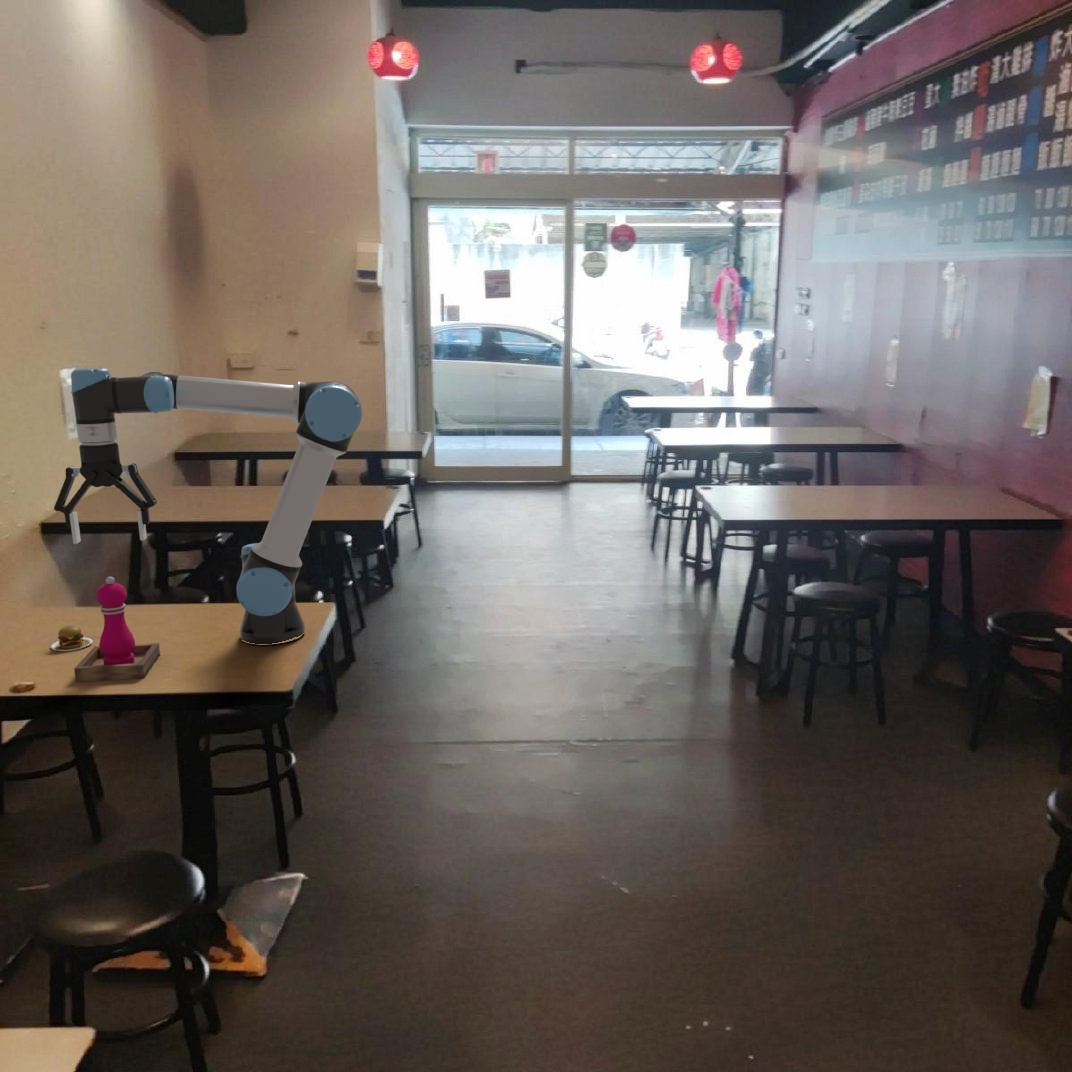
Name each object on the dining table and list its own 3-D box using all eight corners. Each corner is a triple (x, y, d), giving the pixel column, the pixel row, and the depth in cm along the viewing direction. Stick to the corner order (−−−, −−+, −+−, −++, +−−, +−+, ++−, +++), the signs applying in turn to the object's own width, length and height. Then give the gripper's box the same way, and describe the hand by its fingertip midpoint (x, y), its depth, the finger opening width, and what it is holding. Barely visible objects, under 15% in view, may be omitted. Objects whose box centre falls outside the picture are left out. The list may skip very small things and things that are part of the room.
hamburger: (104, 637, 233) (101, 616, 232) (94, 654, 222) (92, 631, 221) (50, 642, 230) (47, 620, 229) (38, 659, 219) (35, 636, 218)
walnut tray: (160, 655, 219) (158, 643, 218) (144, 678, 205) (143, 664, 205) (96, 658, 217) (94, 646, 216) (75, 681, 204) (74, 668, 203)
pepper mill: (143, 658, 214) (134, 572, 210) (126, 670, 207) (116, 581, 203) (112, 657, 215) (102, 571, 210) (95, 669, 208) (84, 580, 203)
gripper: (28, 447, 196) (43, 548, 200) (156, 442, 199) (167, 541, 204) (41, 442, 203) (54, 539, 208) (164, 438, 206) (174, 533, 211)
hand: (110, 540), depth 206 cm, fingers open, 13 cm apart
